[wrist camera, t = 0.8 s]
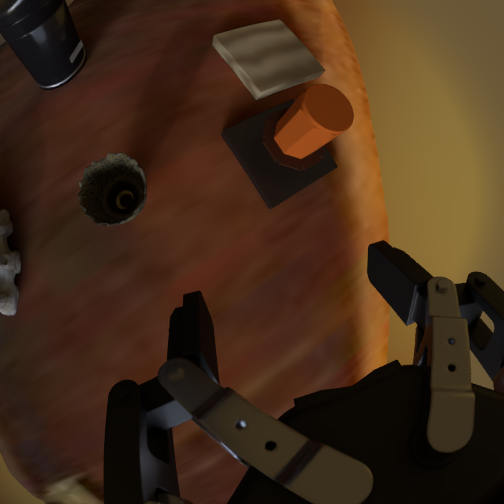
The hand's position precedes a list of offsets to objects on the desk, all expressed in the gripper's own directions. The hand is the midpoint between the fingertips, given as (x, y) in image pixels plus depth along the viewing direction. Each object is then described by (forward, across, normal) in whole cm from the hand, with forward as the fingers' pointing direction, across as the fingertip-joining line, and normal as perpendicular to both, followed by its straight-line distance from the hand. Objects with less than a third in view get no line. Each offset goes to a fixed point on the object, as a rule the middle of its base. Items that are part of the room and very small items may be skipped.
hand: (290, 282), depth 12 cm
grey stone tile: (+35, -10, -16) cm, 40 cm away
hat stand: (+28, -7, -1) cm, 28 cm away
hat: (+23, -8, -3) cm, 24 cm away
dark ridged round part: (+23, +14, 0) cm, 27 cm away
